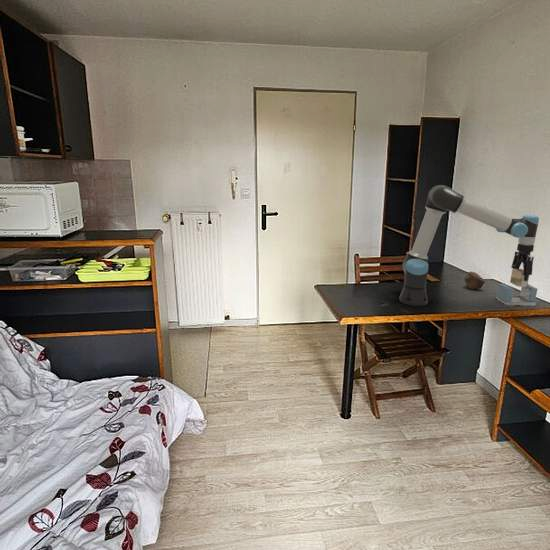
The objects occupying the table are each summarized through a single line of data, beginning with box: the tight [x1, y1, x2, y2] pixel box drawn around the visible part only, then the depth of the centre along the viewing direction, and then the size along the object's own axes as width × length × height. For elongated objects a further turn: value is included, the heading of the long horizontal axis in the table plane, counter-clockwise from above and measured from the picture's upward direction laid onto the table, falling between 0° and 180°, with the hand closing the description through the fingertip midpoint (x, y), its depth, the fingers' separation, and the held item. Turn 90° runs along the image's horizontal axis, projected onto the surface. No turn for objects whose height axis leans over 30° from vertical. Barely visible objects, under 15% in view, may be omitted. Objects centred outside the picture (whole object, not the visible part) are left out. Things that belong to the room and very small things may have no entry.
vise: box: [495, 283, 538, 307], centre depth 224 cm, size 16×11×10 cm
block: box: [509, 268, 530, 288], centre depth 222 cm, size 5×8×8 cm, turn 179°
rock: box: [464, 271, 486, 290], centre depth 248 cm, size 12×10×10 cm
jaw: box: [496, 283, 515, 302], centre depth 224 cm, size 4×9×8 cm, turn 179°
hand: (518, 283), depth 223 cm, fingers closed on block, 8 cm apart
